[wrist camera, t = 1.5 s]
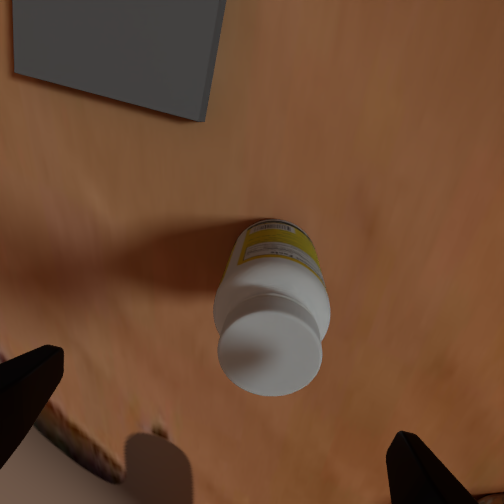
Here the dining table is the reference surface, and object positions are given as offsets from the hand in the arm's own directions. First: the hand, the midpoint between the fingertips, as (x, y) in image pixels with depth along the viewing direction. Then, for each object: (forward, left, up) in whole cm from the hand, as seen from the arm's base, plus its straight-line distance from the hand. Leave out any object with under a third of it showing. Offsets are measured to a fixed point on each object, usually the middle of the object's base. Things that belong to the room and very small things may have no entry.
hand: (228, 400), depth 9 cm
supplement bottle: (-1, +1, -14) cm, 14 cm away
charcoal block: (+10, -11, -14) cm, 20 cm away
